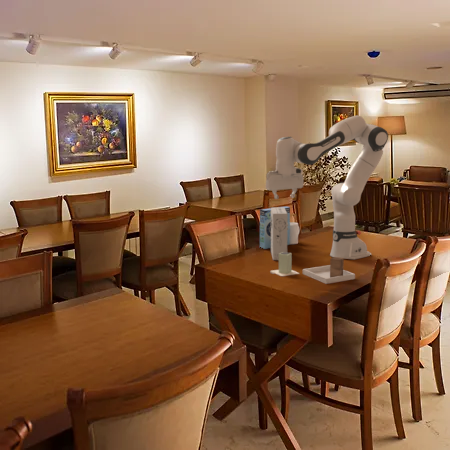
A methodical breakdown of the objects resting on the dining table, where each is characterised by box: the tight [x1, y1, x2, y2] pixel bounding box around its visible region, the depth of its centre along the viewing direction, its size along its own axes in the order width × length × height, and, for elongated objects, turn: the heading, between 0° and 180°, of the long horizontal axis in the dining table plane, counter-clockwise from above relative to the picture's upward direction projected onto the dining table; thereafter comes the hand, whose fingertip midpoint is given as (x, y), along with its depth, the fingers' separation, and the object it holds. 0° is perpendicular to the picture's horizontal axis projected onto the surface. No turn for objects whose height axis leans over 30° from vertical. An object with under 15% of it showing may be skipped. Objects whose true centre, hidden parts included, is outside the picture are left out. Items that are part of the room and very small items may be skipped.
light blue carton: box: [259, 206, 291, 250], centre depth 296 cm, size 20×5×23 cm, turn 124°
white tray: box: [302, 264, 356, 285], centre depth 232 cm, size 16×18×3 cm
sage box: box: [278, 251, 293, 274], centre depth 239 cm, size 4×4×9 cm
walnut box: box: [329, 257, 345, 278], centre depth 229 cm, size 4×4×9 cm
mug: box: [290, 221, 300, 245], centre depth 307 cm, size 12×8×12 cm
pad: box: [269, 269, 300, 277], centre depth 239 cm, size 10×10×1 cm
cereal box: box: [270, 206, 288, 261], centre depth 274 cm, size 22×8×25 cm, turn 178°
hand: (284, 198), depth 250 cm, fingers open, 8 cm apart
